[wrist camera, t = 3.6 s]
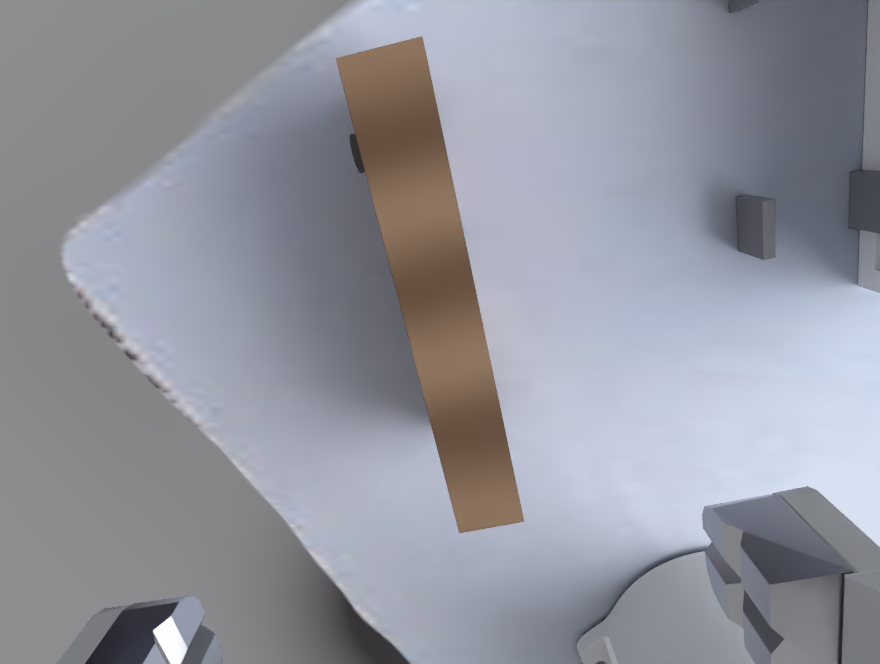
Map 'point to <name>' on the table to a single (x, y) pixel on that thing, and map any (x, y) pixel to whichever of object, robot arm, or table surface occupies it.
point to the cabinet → (871, 189)
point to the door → (432, 274)
